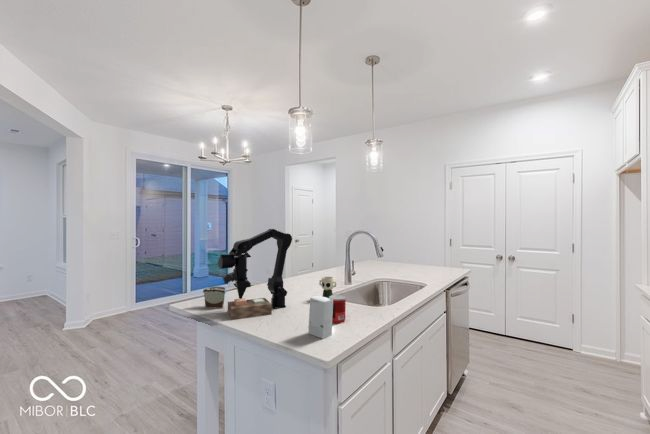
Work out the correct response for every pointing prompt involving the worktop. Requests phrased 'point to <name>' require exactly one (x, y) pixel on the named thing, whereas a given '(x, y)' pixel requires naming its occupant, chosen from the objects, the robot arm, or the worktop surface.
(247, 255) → the robot arm
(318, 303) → the skincare box
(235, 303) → the terracotta key
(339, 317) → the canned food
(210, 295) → the food container
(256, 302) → the sage key
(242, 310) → the key console
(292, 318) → the worktop surface
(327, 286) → the character mug
